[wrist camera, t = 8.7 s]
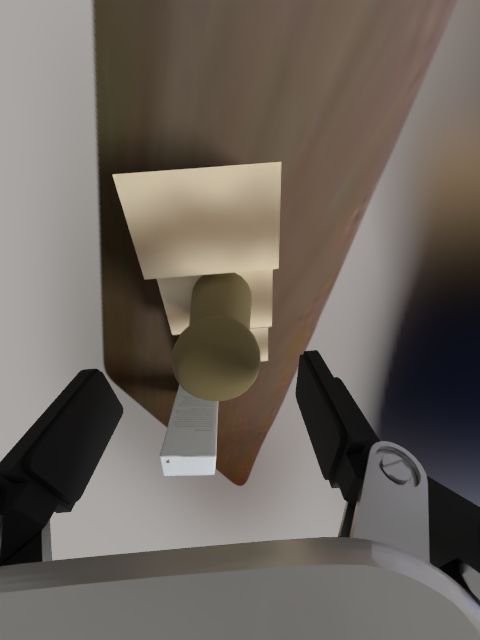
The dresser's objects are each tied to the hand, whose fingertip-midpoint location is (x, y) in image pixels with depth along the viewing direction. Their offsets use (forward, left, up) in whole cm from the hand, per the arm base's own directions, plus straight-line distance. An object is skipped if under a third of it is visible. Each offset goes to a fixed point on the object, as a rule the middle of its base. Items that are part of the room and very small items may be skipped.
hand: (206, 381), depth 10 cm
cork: (+1, 0, -12) cm, 12 cm away
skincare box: (+17, -5, -17) cm, 25 cm away
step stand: (+1, 0, -17) cm, 17 cm away
